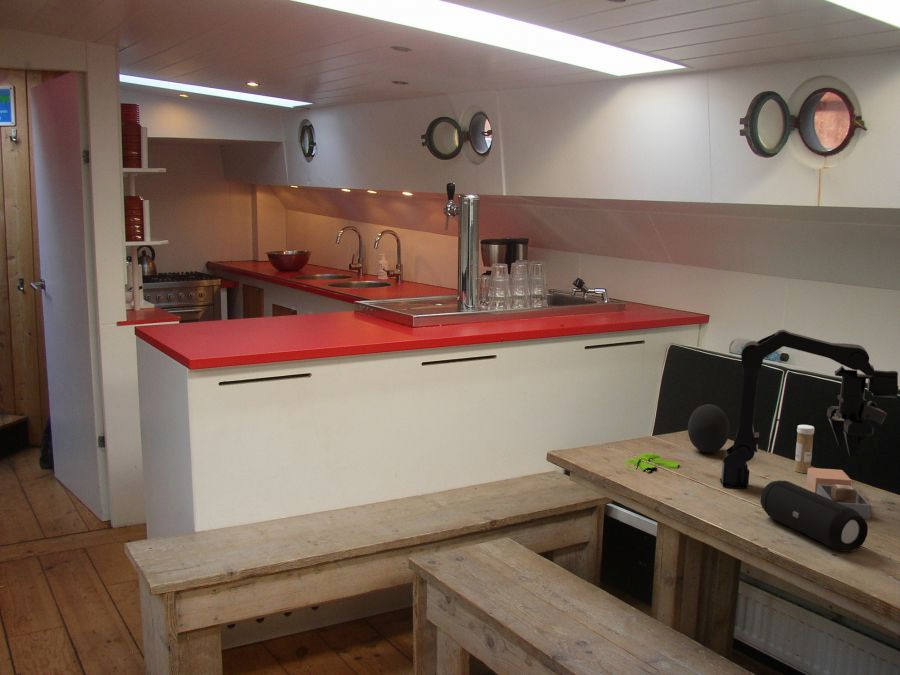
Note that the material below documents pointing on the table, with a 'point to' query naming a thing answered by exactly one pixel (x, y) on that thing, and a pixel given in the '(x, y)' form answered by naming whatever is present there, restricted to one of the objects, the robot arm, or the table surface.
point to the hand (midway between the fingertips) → (846, 451)
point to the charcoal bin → (860, 506)
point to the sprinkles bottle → (804, 448)
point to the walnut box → (843, 493)
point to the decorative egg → (708, 428)
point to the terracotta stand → (826, 478)
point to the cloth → (654, 460)
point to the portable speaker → (814, 515)
